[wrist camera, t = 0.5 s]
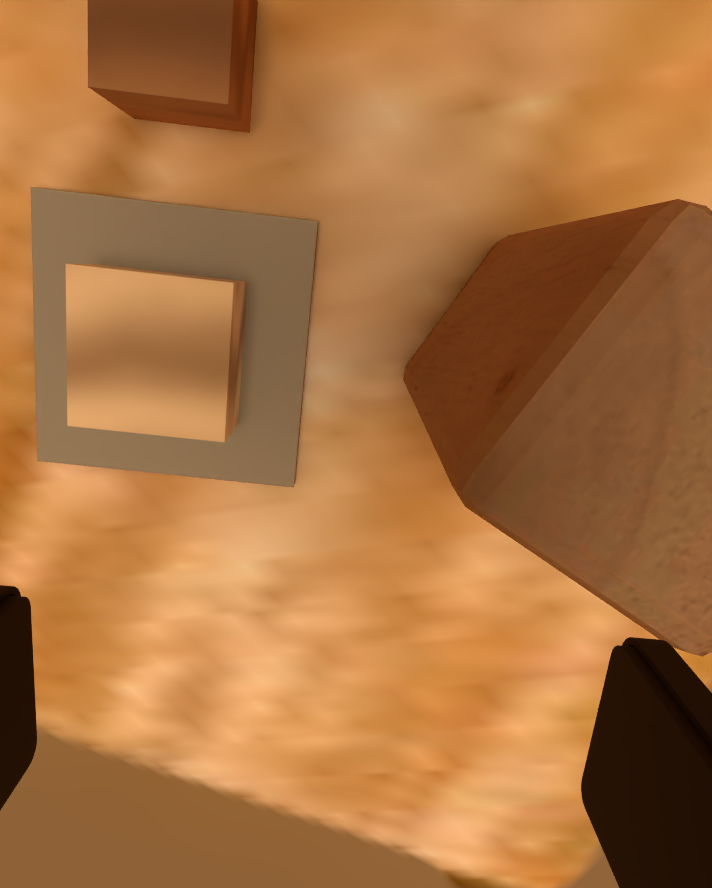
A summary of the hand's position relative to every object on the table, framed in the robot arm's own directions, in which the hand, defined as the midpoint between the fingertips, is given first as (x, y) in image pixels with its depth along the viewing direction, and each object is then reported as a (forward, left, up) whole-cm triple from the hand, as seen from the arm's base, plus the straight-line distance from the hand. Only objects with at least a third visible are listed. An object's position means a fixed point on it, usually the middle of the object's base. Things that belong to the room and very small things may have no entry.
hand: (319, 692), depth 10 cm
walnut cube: (-16, -9, -28) cm, 33 cm away
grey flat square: (-1, -10, -27) cm, 29 cm away
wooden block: (-3, +10, -28) cm, 29 cm away
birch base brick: (-1, -10, -27) cm, 28 cm away
